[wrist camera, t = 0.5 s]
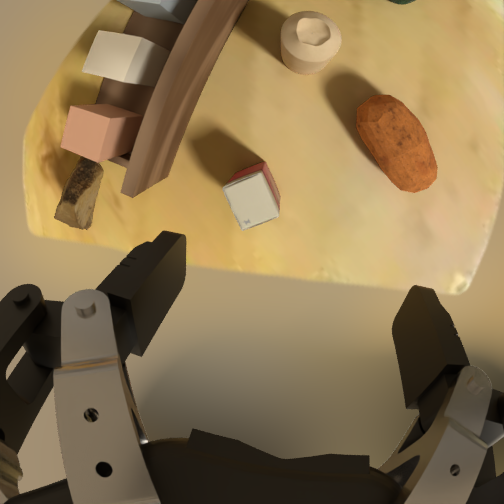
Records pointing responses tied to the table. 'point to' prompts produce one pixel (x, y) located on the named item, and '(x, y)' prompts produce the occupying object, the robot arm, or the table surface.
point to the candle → (309, 42)
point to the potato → (397, 142)
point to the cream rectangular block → (125, 58)
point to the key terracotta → (100, 131)
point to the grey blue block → (162, 8)
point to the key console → (169, 86)
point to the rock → (80, 194)
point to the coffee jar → (401, 1)
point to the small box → (253, 196)
